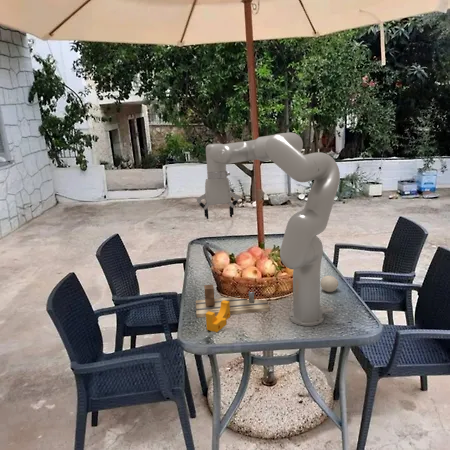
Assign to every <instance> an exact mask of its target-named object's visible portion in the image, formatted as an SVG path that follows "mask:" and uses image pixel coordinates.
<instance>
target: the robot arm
mask: <svg viewBox="0 0 450 450" xmlns="http://www.w3.org/2000/svg"><path fill="white" fill-rule="evenodd" d="M303 147H304V142H303V139H302V137H301V136H300V135H299V134H297V133H295V132H290V131H289V132H282V133H276V134H271V135H265V136H258V137H257V138H256V139H252V140H247V141H246V140H244V141H238V142H230V143H229V142H228V143H224V144H223V143H210V144H207V145H206V146H205V157H206V171H207V172H206V173H207V175H206V176H207V177H206V179H205V184H204V194H202V195H200V196H199V197H197V198H196V202H197V204H198V205H199V207H201V208H202V209H203V210H204V211H203V213H204V217H205V218H206V220H209V209H208V207H210V206H211V205H225V204H228V205H229V208H228V209H229V217H230V218H233V216H234V212H235V211H234V208H235V206H236V205H237V204H238V203H239V200H240V197H241V196H240V195H238V194H236V193H234V192H232V191H231V185H230V180H229V178H228V176H230V175H231V172H230V171H227V165H231V164H234V163H235V164H236V163H242V162H248V161H255V160H259V161H260V162H265V161H272V162H273V163H274V164H275V165H276V166H277V167H278V168H279V169H280V170H282V171H283V172H284V173H285V174H286V175H288V176H289V177H290V178H291V179H292V180H293V181H296V182H298V183H309V182H312V181H313V184H312V186H311V188H310V190H309V192H308V195H307V199H306V202H305V205H304V208H303V209H302V210H300V211H297V212H295V213H293V215H292V216H290V218H289V220H288V221H287V224H286V227H285V229H284V234H283V238H282V243H281V246H280V253H279V256H280V261H281V263H282V264H283V265H284V267H286V268H287V269H289V270H292V301H293V302H292V303H293V304H292V305H293V306H292V308H293V309H292V310H291V311H290V312H289V313H288V317H289V320H290V321H291V322H292V323H294V324H296V325H297V326H304V327H313V326H316V325H317V326H318V325H320V324H322V323H323V322H324V320H325V315H326V314H333V313H334V308H333V307H328V305H321V267H322V259H323V253H324V248H323V247H324V246H323V243H322V241H321V239H320V237H318V235H320V234H322V233H323V232H324V231H326V228H327V226H328V222H329V219H330V217H331V213H332V209H333V205H334V203H335V198H336V194H337V192H338V189H339V185H340V181H341V179H340V178H341V175H340V173H341V172H340V169H339V165H338V164H337V162H336V160H335V159H334V157H332V156H331V155H329V154H328V153H324V152H311V153H306V154H303V153H302V150H303ZM232 197H233V198H234V200H233V201H232ZM203 199H205V202H206V203H205V204H204V203H203V202H202V200H203Z"/></svg>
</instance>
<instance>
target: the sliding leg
mask: <svg viewBox="0 0 450 450" xmlns="http://www.w3.org/2000/svg"><path fill="white" fill-rule="evenodd" d="M203 286H204V289H203V290H204V300H205V303H206V306H213V305H215V300H214V299H215V289H214V284H204V285H203Z"/></svg>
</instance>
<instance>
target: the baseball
mask: <svg viewBox="0 0 450 450" xmlns="http://www.w3.org/2000/svg"><path fill="white" fill-rule="evenodd" d="M338 287H339V281H338V279H337V278H336V277H334V276H333V275H325V276H323V277H322V278H321V279H320V288H321V289H322V290H323V291H325V292H327V293H332V292H335V291H336V290H337V288H338Z"/></svg>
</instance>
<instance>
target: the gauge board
mask: <svg viewBox="0 0 450 450" xmlns="http://www.w3.org/2000/svg"><path fill="white" fill-rule="evenodd" d="M234 297H235V296H232V297H231V296H230V297H221V298H214V300H215V305H213V306H206V303H205V299H200V300H199V299H197V300H195V310H196V311H195V313H196V319H198V318H206V313H207V312H208V311H210V312H214V313H215V316H217V315H218V313H219V311H220V307H221V302H222V301H223V300H225V301H230V316H231V315H233V316H234V315H242V314H251V313H252V314H253V313H264V312H270V311H271V308H270V304H269V302H268V300H267V299H266V300H255V302H254V303H249V300H247V299H238V298H234Z"/></svg>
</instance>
